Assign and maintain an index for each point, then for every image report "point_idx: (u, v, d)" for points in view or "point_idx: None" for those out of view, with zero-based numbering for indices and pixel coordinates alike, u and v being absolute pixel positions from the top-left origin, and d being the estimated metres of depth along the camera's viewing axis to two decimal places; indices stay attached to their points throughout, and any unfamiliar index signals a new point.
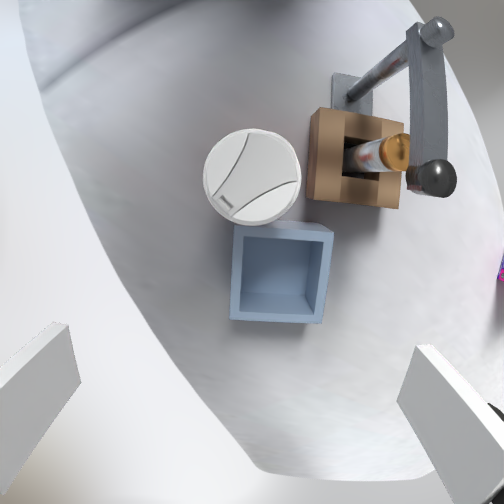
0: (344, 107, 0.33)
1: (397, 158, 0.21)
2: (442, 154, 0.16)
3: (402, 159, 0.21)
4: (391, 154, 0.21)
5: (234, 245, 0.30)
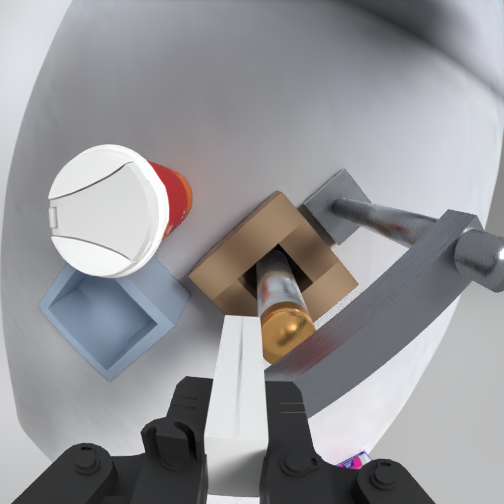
0: (317, 212, 0.27)
1: (270, 342, 0.15)
2: None
3: (276, 348, 0.15)
4: (266, 332, 0.15)
5: None
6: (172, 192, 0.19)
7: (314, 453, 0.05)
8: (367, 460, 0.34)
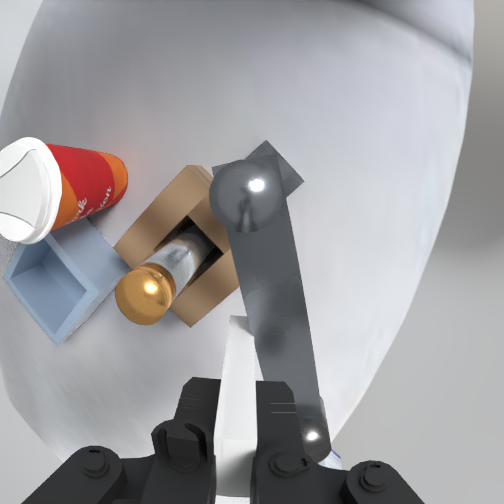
0: None
1: (124, 297, 0.15)
2: (310, 409, 0.11)
3: (130, 303, 0.16)
4: (120, 287, 0.15)
5: None
6: (81, 171, 0.20)
7: (304, 453, 0.05)
8: None
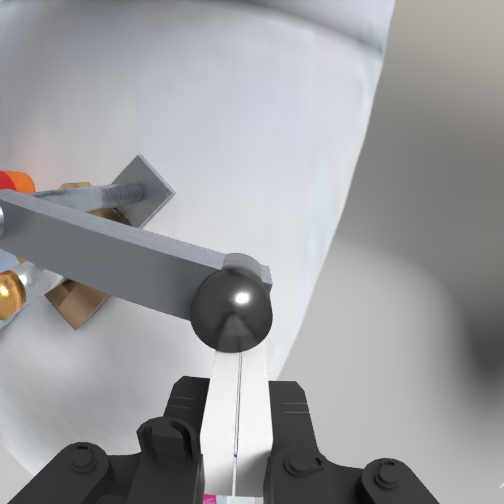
0: None
1: None
2: (185, 274, 0.09)
3: None
4: None
5: None
6: None
7: (318, 453, 0.05)
8: None
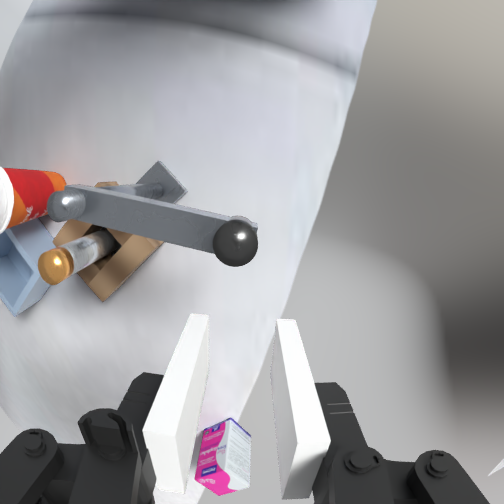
0: None
1: (42, 267, 0.22)
2: (209, 224, 0.17)
3: (45, 271, 0.22)
4: (40, 261, 0.22)
5: None
6: (29, 187, 0.26)
7: (375, 451, 0.05)
8: (231, 426, 0.42)
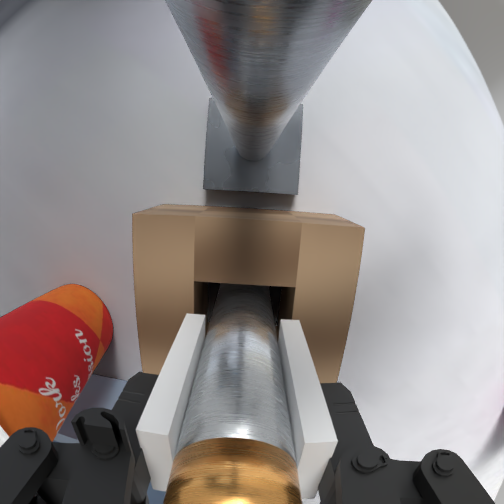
0: (227, 181, 0.16)
1: None
2: None
3: None
4: None
5: None
6: (10, 348, 0.10)
7: (382, 451, 0.05)
8: None
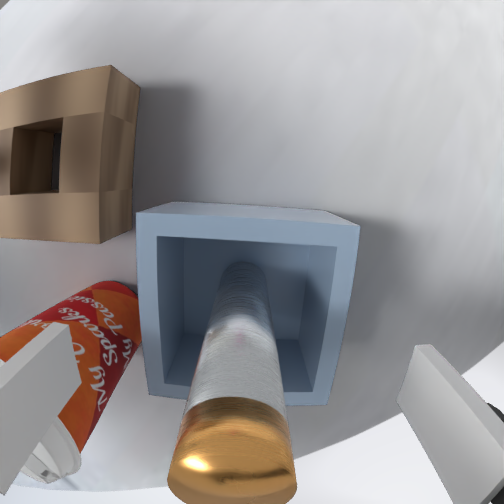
0: None
1: (203, 500, 0.06)
2: None
3: (222, 501, 0.06)
4: (182, 491, 0.06)
5: (183, 396, 0.15)
6: None
7: None
8: None
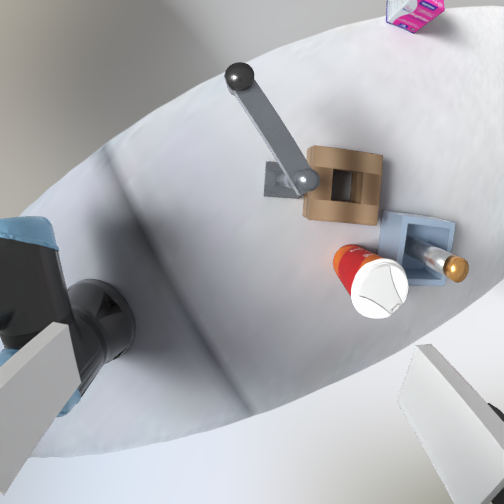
0: None
1: (455, 275, 0.31)
2: (244, 96, 0.24)
3: (457, 275, 0.31)
4: (452, 273, 0.31)
5: None
6: (351, 267, 0.38)
7: None
8: (390, 17, 0.36)
